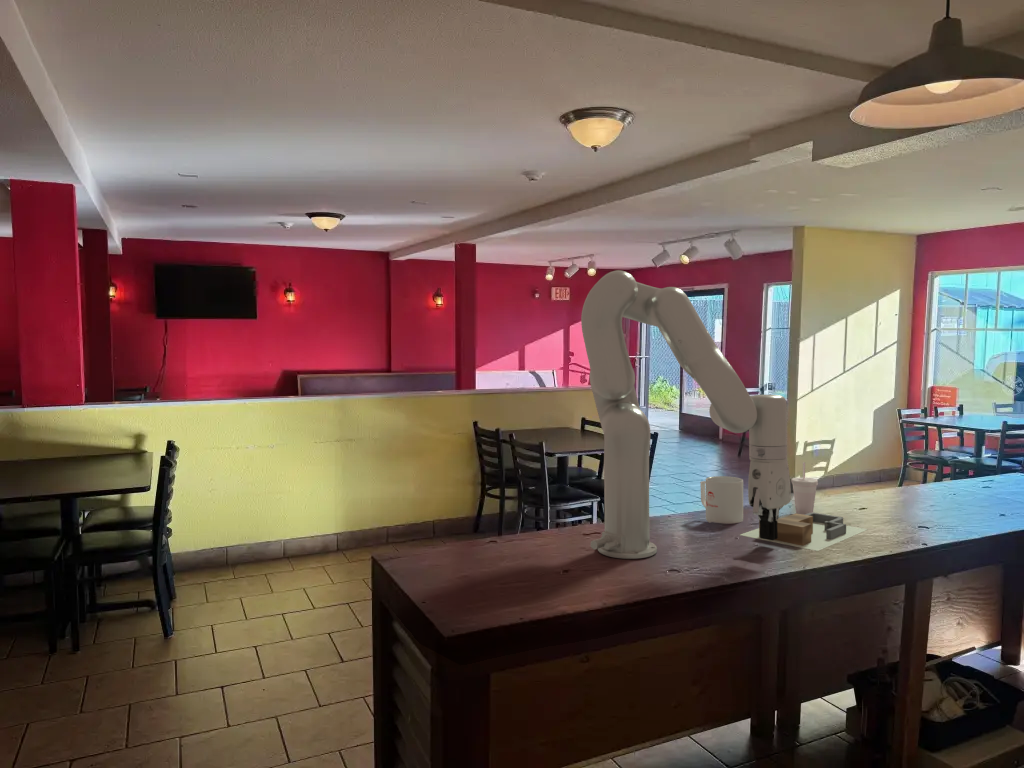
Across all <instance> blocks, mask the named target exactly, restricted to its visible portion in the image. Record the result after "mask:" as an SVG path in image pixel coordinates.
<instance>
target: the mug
mask: <svg viewBox="0 0 1024 768" xmlns="http://www.w3.org/2000/svg"><path fill="white" fill-rule="evenodd" d="M700 502H701V504H702V506H703V507H704V508H705V520H706V521H707V522H708V524H709V523H717V524H730V525H731V524H739V523H742V522H744V479H743V478H740V477H734V476H724V475H718V476H714V475H713V476H709V477H706V478H705V480H703V481H700Z"/></svg>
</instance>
